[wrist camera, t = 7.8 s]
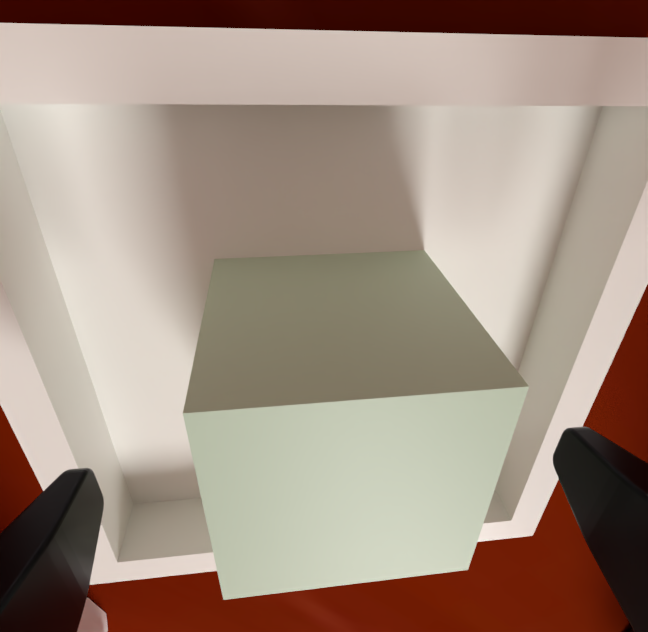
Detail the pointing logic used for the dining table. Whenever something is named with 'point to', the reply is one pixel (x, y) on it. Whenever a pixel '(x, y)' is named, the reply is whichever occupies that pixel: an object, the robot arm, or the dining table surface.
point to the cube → (344, 420)
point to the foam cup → (92, 618)
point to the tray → (299, 228)
